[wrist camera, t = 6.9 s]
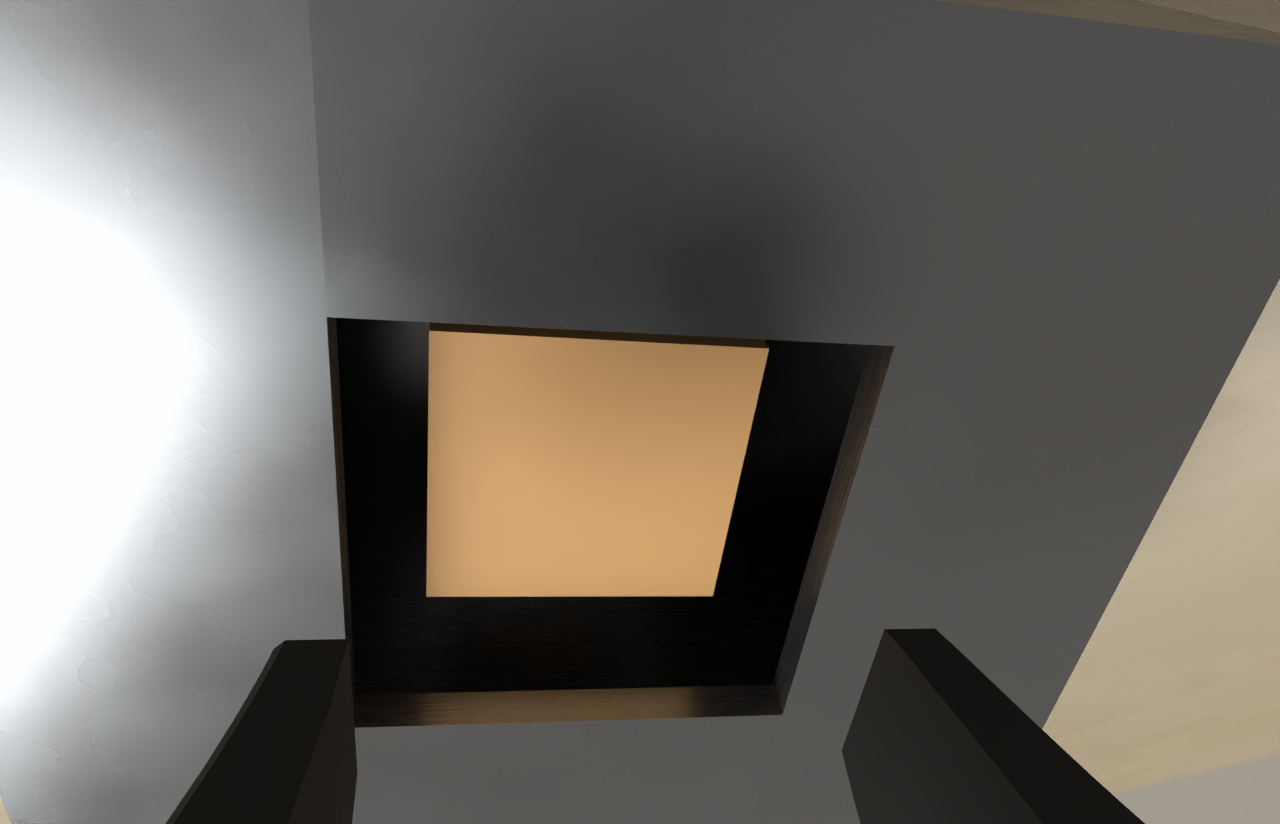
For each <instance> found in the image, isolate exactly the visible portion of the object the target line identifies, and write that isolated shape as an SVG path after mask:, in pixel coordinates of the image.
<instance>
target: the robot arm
mask: <svg viewBox="0 0 1280 824" xmlns="http://www.w3.org/2000/svg"><path fill="white" fill-rule="evenodd" d="M842 754H843V758H844V762H845V766H846V770H847V774H848V778H849V782H850V786H851V790H852V794H853V798H854V802H855V806H856V809H857V813H858V816H859V820H860V824H1145V823H1143V822H1142V821H1141V820H1140V819H1139V818H1138V817H1137V816H1135V815H1134V814H1133V813H1132V812H1131V811H1130V810H1129V809H1128V808H1126V807H1125V806H1124V805H1123V804H1122V803H1121V802H1120V801H1119V800H1118V799H1116V798H1115V797H1114V796H1113V795H1112V794H1111V793H1110V792H1109V791H1108V790H1107V789H1105V788H1104V787H1103V786H1102V785H1101V784H1100V783H1099V782H1098V781H1097V780H1096V779H1094V778H1093V777H1092V776H1091V775H1090V774H1089V773H1088V772H1087V771H1086V770H1085V769H1084V768H1083V767H1081V766H1080V765H1079V764H1078V763H1077V762H1076V761H1075V760H1074V759H1073V758H1072V757H1071V756H1070V755H1069V754H1067V753H1066V752H1065V751H1064V750H1063V749H1062V748H1061V747H1060V746H1059V745H1058V744H1057V743H1056V742H1055V741H1054V740H1053V739H1051V738H1050V737H1049V736H1048V735H1047V734H1046V733H1045V732H1044V731H1043V730H1042V729H1041V728H1040V727H1039V726H1038V725H1037V724H1036V723H1035V722H1034V721H1033V720H1031V719H1030V718H1029V717H1028V716H1027V715H1026V714H1025V713H1024V712H1023V711H1022V710H1021V709H1020V708H1019V707H1018V706H1017V705H1016V704H1015V703H1014V702H1013V701H1012V700H1011V699H1009V698H1008V697H1007V696H1006V695H1005V694H1004V693H1003V692H1002V691H1001V690H1000V689H999V688H998V687H997V686H996V685H995V684H994V683H993V682H992V681H991V680H990V679H989V678H988V677H987V676H985V675H984V674H983V673H982V672H981V671H980V670H979V669H978V668H977V667H976V666H975V665H974V664H973V663H972V662H971V661H970V660H969V659H968V658H967V657H966V656H964V655H963V654H962V653H961V652H960V651H959V650H958V649H957V648H956V647H955V646H954V645H953V644H952V643H951V642H949V641H948V640H947V639H946V638H945V637H944V636H943V635H942V634H941V633H939V632H938V631H937V630H936V629H935V628H925V629H884V632H883V635H882V637H881V640H880V643H879V646H878V649H877V652H876V654H875V657H874V660H873V663H872V666H871V669H870V671H869V674H868V677H867V680H866V683H865V686H864V688H863V691H862V694H861V697H860V700H859V703H858V705H857V708H856V711H855V714H854V717H853V720H852V722H851V725H850V728H849V731H848V734H847V737H846V739H845V742H844V745H843V748H842ZM356 782H357V757H356V742H355V727H354V712H353V697H352V682H351V667H350V652H349V639H323V640H285V641H283V642H282V643H281V644H279V645H278V646H277V647H275V648H274V649H273V651H272V653H271V655H270V657H269V659H268V661H267V663H266V665H265V666H264V668H263V670H262V672H261V674H260V676H259V677H258V679H257V681H256V683H255V684H254V686H253V688H252V690H251V691H250V693H249V695H248V697H247V698H246V700H245V702H244V703H243V705H242V707H241V709H240V710H239V712H238V714H237V715H236V717H235V718H234V720H233V722H232V723H231V725H230V727H229V728H228V730H227V731H226V733H225V735H224V736H223V738H222V739H221V741H220V742H219V744H218V746H217V747H216V749H215V750H214V752H213V754H212V755H211V757H210V758H209V760H208V761H207V763H206V765H205V766H204V768H203V769H202V771H201V772H200V774H199V775H198V777H197V778H196V779H195V781H194V782H193V784H192V785H191V787H190V788H189V790H188V791H187V793H186V794H185V796H184V797H183V799H182V800H181V802H180V803H179V804H178V806H177V807H176V809H175V810H174V812H173V813H172V815H171V816H170V818H169V819H168V821H167V822H166V824H352V820H353V810H354V801H355V791H356Z"/></svg>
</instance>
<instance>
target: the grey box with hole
mask: <svg viewBox="0 0 1280 824" xmlns="http://www.w3.org/2000/svg"><path fill="white" fill-rule="evenodd" d="M1279 279H1280V33H1276V32H1271V31H1267V30H1262V29H1258V28H1254V27H1249V26H1245V25H1240V24H1236V23H1231V22H1227V21H1223V20H1218V19H1214V18H1209V17H1205V16H1200V15H1196V14H1192V13H1187V12H1183V11H1178V10H1174V9H1169V8H1165V7H1161V6H1156V5H1152V4H1147V3H1143V2H1138V1H1134V0H0V795H1V798H2V801H3V803H4V806H5V809H6V811H7V814H8V817H9V819H10V822H11V824H166V822H167V821H168V819H169V818H170V816H171V815H172V813H173V812H174V810H175V809H176V807H177V806H178V804H179V803H180V802H181V800H182V799H183V797H184V796H185V794H186V793H187V791H188V790H189V788H190V787H191V785H192V784H193V782H194V781H195V779H196V778H197V777H198V775H199V774H200V772H201V771H202V769H203V768H204V766H205V765H206V763H207V761H208V760H209V758H210V757H211V755H212V754H213V752H214V750H215V749H216V747H217V746H218V744H219V742H220V741H221V739H222V738H223V736H224V735H225V733H226V731H227V730H228V728H229V727H230V725H231V723H232V722H233V720H234V718H235V717H236V715H237V714H238V712H239V710H240V709H241V707H242V705H243V703H244V702H245V700H246V698H247V697H248V695H249V693H250V691H251V690H252V688H253V686H254V684H255V683H256V681H257V679H258V677H259V676H260V674H261V672H262V670H263V668H264V666H265V665H266V663H267V661H268V659H269V657H270V655H271V653H272V651H273V649H274V648H275V647H277V646H278V645H279V644H281V643H282V642H283V641H285V640H323V639H349V652H350V667H351V682H352V697H353V712H354V727H355V742H356V757H357V782H356V791H355V801H354V810H353V820H352V824H860V820H859V816H858V813H857V809H856V806H855V802H854V798H853V794H852V790H851V786H850V782H849V778H848V774H847V770H846V766H845V762H844V758H843V754H842V748H843V745H844V742H845V739H846V737H847V734H848V731H849V728H850V725H851V722H852V720H853V717H854V714H855V711H856V708H857V705H858V703H859V700H860V697H861V694H862V691H863V688H864V686H865V683H866V680H867V677H868V674H869V671H870V669H871V666H872V663H873V660H874V657H875V654H876V652H877V649H878V646H879V643H880V640H881V637H882V635H883V632H884V629H925V628H935V629H936V630H937V631H938V632H939V633H941V634H942V635H943V636H944V637H945V638H946V639H947V640H948V641H949V642H951V643H952V644H953V645H954V646H955V647H956V648H957V649H958V650H959V651H960V652H961V653H962V654H963V655H964V656H966V657H967V658H968V659H969V660H970V661H971V662H972V663H973V664H974V665H975V666H976V667H977V668H978V669H979V670H980V671H981V672H982V673H983V674H984V675H985V676H987V677H988V678H989V679H990V680H991V681H992V682H993V683H994V684H995V685H996V686H997V687H998V688H999V689H1000V690H1001V691H1002V692H1003V693H1004V694H1005V695H1006V696H1007V697H1008V698H1009V699H1011V700H1012V701H1013V702H1014V703H1015V704H1016V705H1017V706H1018V707H1019V708H1020V709H1021V710H1022V711H1023V712H1024V713H1025V714H1026V715H1027V716H1028V717H1029V718H1030V719H1031V720H1033V721H1034V722H1035V723H1036V724H1037V725H1038V726H1039V727H1040V728H1041V729H1042V728H1043V727H1044V725H1045V723H1046V721H1047V719H1048V717H1049V715H1050V713H1051V711H1052V709H1053V708H1054V706H1055V704H1056V702H1057V700H1058V698H1059V696H1060V694H1061V692H1062V690H1063V689H1064V687H1065V685H1066V683H1067V681H1068V679H1069V677H1070V675H1071V673H1072V671H1073V670H1074V668H1075V666H1076V664H1077V662H1078V660H1079V658H1080V656H1081V654H1082V653H1083V651H1084V649H1085V647H1086V645H1087V643H1088V641H1089V639H1090V637H1091V635H1092V634H1093V632H1094V630H1095V628H1096V626H1097V624H1098V622H1099V620H1100V618H1101V616H1102V615H1103V613H1104V611H1105V609H1106V607H1107V605H1108V603H1109V601H1110V599H1111V597H1112V596H1113V594H1114V592H1115V590H1116V588H1117V586H1118V584H1119V582H1120V580H1121V579H1122V577H1123V575H1124V573H1125V571H1126V569H1127V567H1128V565H1129V563H1130V561H1131V560H1132V558H1133V556H1134V554H1135V552H1136V550H1137V548H1138V546H1139V544H1140V542H1141V541H1142V539H1143V537H1144V535H1145V533H1146V531H1147V529H1148V527H1149V525H1150V523H1151V522H1152V520H1153V518H1154V516H1155V514H1156V512H1157V510H1158V508H1159V506H1160V504H1161V503H1162V501H1163V499H1164V497H1165V495H1166V493H1167V491H1168V489H1169V487H1170V486H1171V484H1172V482H1173V480H1174V478H1175V476H1176V474H1177V472H1178V470H1179V468H1180V467H1181V465H1182V463H1183V461H1184V459H1185V457H1186V455H1187V453H1188V451H1189V449H1190V448H1191V446H1192V444H1193V442H1194V440H1195V438H1196V436H1197V434H1198V432H1199V430H1200V429H1201V427H1202V425H1203V423H1204V421H1205V419H1206V417H1207V415H1208V413H1209V412H1210V410H1211V408H1212V406H1213V404H1214V402H1215V400H1216V398H1217V396H1218V394H1219V393H1220V391H1221V389H1222V387H1223V385H1224V383H1225V381H1226V379H1227V377H1228V375H1229V374H1230V372H1231V370H1232V368H1233V366H1234V364H1235V362H1236V360H1237V358H1238V356H1239V355H1240V353H1241V351H1242V349H1243V347H1244V345H1245V343H1246V341H1247V339H1248V337H1249V336H1250V334H1251V332H1252V330H1253V328H1254V326H1255V324H1256V322H1257V320H1258V319H1259V317H1260V315H1261V313H1262V311H1263V309H1264V307H1265V305H1266V303H1267V301H1268V300H1269V298H1270V296H1271V294H1272V292H1273V290H1274V288H1275V286H1276V284H1277V282H1278V281H1279ZM430 322H431V323H451V324H470V325H490V326H509V327H529V328H549V329H568V330H588V331H607V332H627V333H646V334H666V335H685V336H705V337H725V338H744V339H764V340H765V342H766V344H767V346H768V347H769V352H768V356H767V360H766V365H765V369H764V374H763V378H762V382H761V387H760V391H759V395H758V400H757V404H756V409H755V413H754V417H753V422H752V426H751V431H750V435H749V439H748V444H747V448H746V453H745V457H744V461H743V466H742V470H741V474H740V479H739V483H738V488H737V492H736V496H735V501H734V505H733V510H732V514H731V518H730V523H729V527H728V532H727V536H726V540H725V545H724V549H723V554H722V558H721V562H720V567H719V571H718V575H717V580H716V584H715V589H714V593H713V596H574V597H426V584H427V485H428V386H429V327H430Z"/></svg>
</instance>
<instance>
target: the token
mask: <svg viewBox="0 0 1280 824" xmlns="http://www.w3.org/2000/svg"><path fill="white" fill-rule="evenodd" d="M768 352H769V347H768V346H767V344H766V342H765V340H764V339H744V338H725V337H705V336H685V335H666V334H646V333H627V332H607V331H588V330H568V329H549V328H529V327H509V326H490V325H470V324H451V323H431V322H430V327H429V386H428V485H427V584H426V597H574V596H713V593H714V589H715V584H716V580H717V575H718V571H719V567H720V562H721V558H722V554H723V549H724V545H725V540H726V536H727V532H728V527H729V523H730V518H731V514H732V510H733V505H734V501H735V496H736V492H737V488H738V483H739V479H740V474H741V470H742V466H743V461H744V457H745V453H746V448H747V444H748V439H749V435H750V431H751V426H752V422H753V417H754V413H755V409H756V404H757V400H758V395H759V391H760V387H761V382H762V378H763V374H764V369H765V365H766V360H767V356H768Z"/></svg>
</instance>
